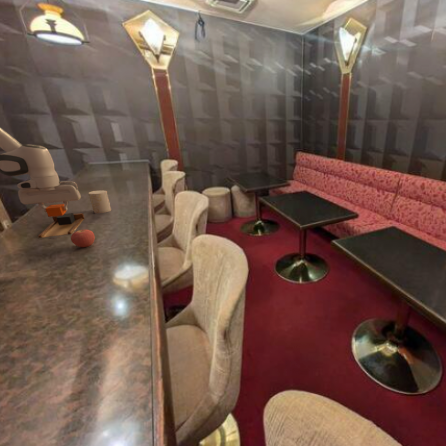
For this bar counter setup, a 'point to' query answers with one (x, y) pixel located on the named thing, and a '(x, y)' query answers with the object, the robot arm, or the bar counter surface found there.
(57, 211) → the orange block
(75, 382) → the bar counter surface
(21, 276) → the bar counter surface
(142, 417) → the bar counter surface
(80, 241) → the apple
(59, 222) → the black block
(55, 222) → the jig
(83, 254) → the bar counter surface
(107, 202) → the cup
